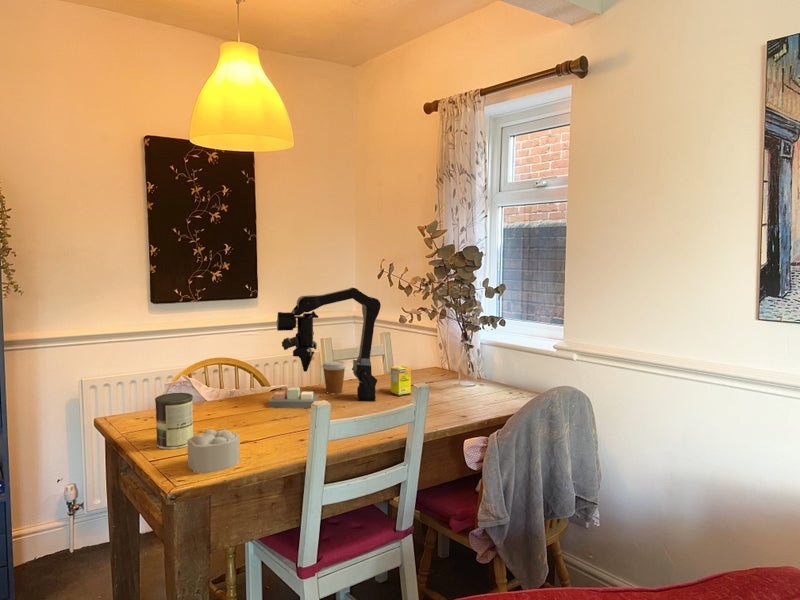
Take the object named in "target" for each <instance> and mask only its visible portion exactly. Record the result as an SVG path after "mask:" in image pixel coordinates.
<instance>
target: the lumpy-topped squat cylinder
mask: <svg viewBox="0 0 800 600" xmlns="http://www.w3.org/2000/svg"><path fill="white" fill-rule="evenodd" d="M240 436H241V435H240V434H239V433H236V432H234V431H232V432H231V431H230V430H228V429H221V430H219V431H218V430H217V431H216V430H214V429H211V428H210V429H209V428H208V429H206V430H204V432H203V433H197V434H195V435H193V437H191V438H189V439H188V440H187V447H186V448H187V467H188V466H189V467H190V468H189V467H188V468H189V469H191V471H192V470H193V471H192V472H193V473H194V472H195V473H194V474H196V473H199V474H198V475H204V473H206V474H211V473H216V472H219V471H225V470H228V469H232V468H234V467H236V466H237V465H238V464H239V463H240V462H241V443H240V442H241V440H240ZM200 473H202V474H200Z"/></svg>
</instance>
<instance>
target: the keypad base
mask: <svg viewBox="0 0 800 600" xmlns="http://www.w3.org/2000/svg"><path fill="white" fill-rule="evenodd" d="M318 399H319V395H318V394H313V400H301V394H300V399H299V400H287V398H286V399H274V395H273V396H272V397H271V398H269V401H268V409H269V408H270V409H271V408H272V409H311V408H310V407H311V404H312V403H313V402H314V401H317V400H318ZM318 401H319V400H318ZM318 401H317V402H318Z"/></svg>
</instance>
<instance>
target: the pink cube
mask: <svg viewBox="0 0 800 600" xmlns="http://www.w3.org/2000/svg"><path fill="white" fill-rule="evenodd" d="M273 396H274V399H286V398H287V391H275V392H274V393H273Z"/></svg>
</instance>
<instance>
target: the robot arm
mask: <svg viewBox="0 0 800 600" xmlns="http://www.w3.org/2000/svg"><path fill="white" fill-rule="evenodd" d="M351 299H352V300H353V301H355V302H357V303H358V304H360V305H361V312H362V318H363V320H362V321H363V322H362V323H363V324H362V329H361V336H360V337H361V338H360V345H359V352H358V353H359V354H358V357H357V358H356V359H353V360H352V368H351V370H352V373H353V375H354V376H355V378H357V380H358V382H359V383H358V386H357V391H356V393H357V394H356V395H357V396H356V397H357V400H358V401H359V402H363V401H366V402H368V401H369V402H375V401H376V399H377V395H376V385H377V384H378V383H377V382H378V379H377V378H376V377H375V376H373V374H372V373H373V372H372V362H371V351H372V344H373V338H374V337H373V336H374V329H375V323H376V320H377V317H378V316H379V312H380V310H381V306H382V305H381V302H380V300H379V299H378V298H376V297H371V296H369V295H367V294H365V293H363V292H362V291H360V290H359V289H357V288H355V287H349V288H347V289H342V290H338V291H333V292H329V293H325V294H320V295H315V294H314V295H312V294H311V295H309V294H308V295H300V296H299V297H298V298H297V300H296V305H295V306H294V308H293V309H292V310H291V312H290V311H289V312H288V311H286V312H283V311H278V312H277V317H276V318H277V319H276V330H277V331H278V332H279V331H286V332H287V331H294V329H295V328H296V329H297V330H296V331H297V333H296V334H295V336H293V337H286V338H284V339H283V340H282V341H281V347H282V348H283V350H284V351H287V350H288V349H291V348H294V347H295V349H293V350H292V357H296V358H299V359H300V362H301V365H302V370H303V372H304V373H306V372H307V371H309V370H308V369H309V367H310V364H311V361H312V359H313V357H314V354H315V351H313V350H312V349H314V350H317V347H318V346H317V344H318V343H317V342H316V341H315V340H314V335H315V331H314V319H319V315H317V314H316V312H315V310H317V309H319V308H321V307H323V306H326V305H331V304H334V303H340V302H343V301H348V300H351Z"/></svg>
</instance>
